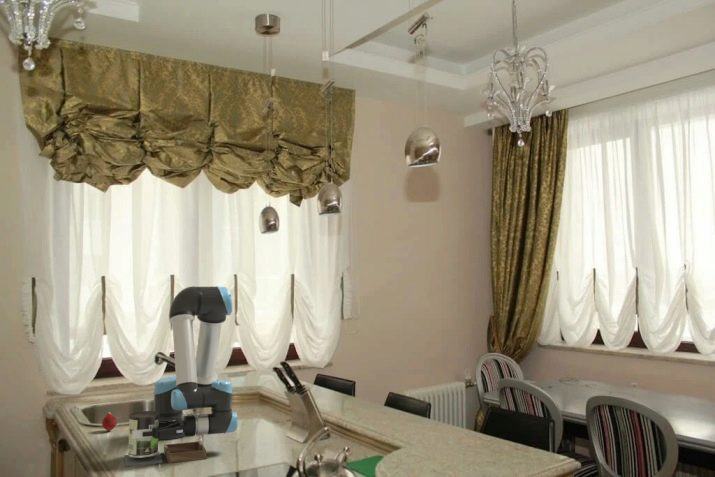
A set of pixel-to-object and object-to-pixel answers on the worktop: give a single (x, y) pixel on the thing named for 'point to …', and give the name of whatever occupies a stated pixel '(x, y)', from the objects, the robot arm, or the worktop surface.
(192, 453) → the wooden square tray
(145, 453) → the coffee can
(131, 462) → the mat
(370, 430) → the worktop surface
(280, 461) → the worktop surface
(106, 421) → the onion
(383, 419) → the worktop surface
